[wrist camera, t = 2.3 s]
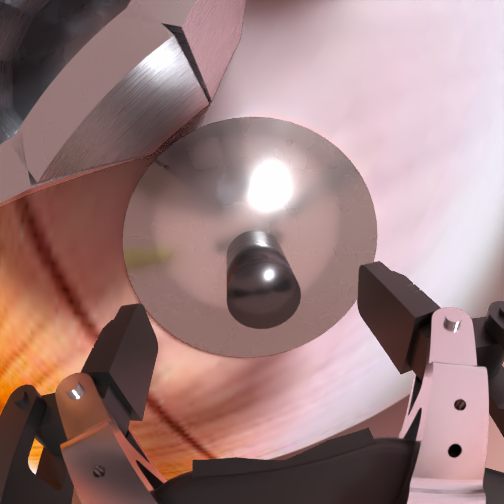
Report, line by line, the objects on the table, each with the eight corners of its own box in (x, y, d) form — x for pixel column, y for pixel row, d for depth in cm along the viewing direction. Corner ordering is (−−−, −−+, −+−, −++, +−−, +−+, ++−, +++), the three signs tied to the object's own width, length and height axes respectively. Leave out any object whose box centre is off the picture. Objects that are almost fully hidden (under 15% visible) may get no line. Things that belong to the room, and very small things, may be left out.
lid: (360, 109, 12) (416, 101, 8) (364, 323, 18) (396, 372, 13) (102, 151, 12) (49, 161, 8) (169, 358, 17) (157, 416, 13)
